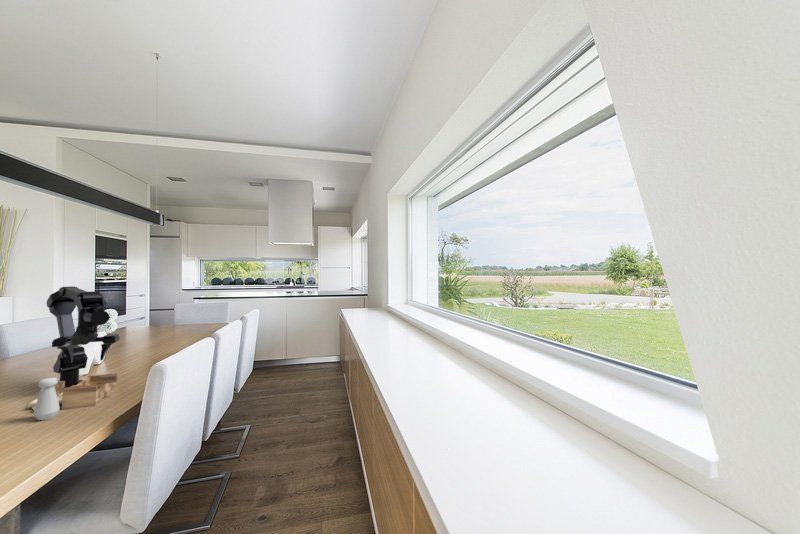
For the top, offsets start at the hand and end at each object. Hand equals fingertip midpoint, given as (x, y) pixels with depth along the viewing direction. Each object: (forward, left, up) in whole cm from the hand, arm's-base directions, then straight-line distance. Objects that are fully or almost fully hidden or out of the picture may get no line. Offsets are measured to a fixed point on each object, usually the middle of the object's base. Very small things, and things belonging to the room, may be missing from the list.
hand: (86, 361), depth 128 cm
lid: (+9, -7, -12) cm, 16 cm away
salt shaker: (+24, -2, -12) cm, 27 cm away
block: (+12, +10, -6) cm, 17 cm away
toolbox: (+7, +4, -12) cm, 14 cm away
